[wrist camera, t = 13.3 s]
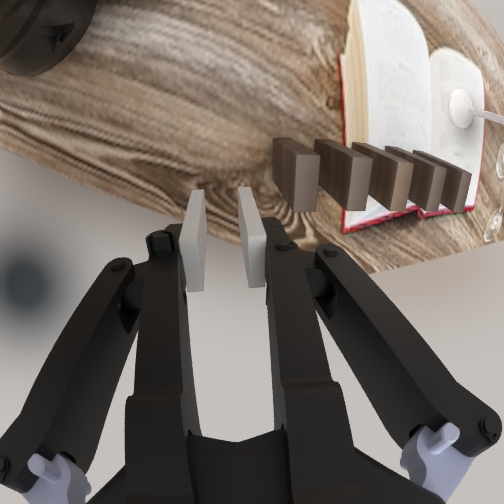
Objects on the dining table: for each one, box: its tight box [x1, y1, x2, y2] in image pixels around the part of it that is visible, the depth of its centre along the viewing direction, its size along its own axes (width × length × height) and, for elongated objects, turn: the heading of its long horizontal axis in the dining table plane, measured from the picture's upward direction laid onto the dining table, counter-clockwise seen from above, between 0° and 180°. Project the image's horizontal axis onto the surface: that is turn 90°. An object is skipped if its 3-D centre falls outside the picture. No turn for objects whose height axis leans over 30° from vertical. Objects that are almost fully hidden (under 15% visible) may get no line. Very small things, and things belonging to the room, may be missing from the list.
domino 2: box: [314, 139, 373, 211], centre depth 26 cm, size 2×5×10 cm, turn 0°
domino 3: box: [352, 142, 414, 211], centre depth 27 cm, size 2×5×10 cm, turn 0°
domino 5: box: [413, 150, 472, 213], centre depth 28 cm, size 2×5×10 cm, turn 0°
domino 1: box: [273, 138, 320, 212], centre depth 26 cm, size 2×5×10 cm, turn 0°
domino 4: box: [385, 146, 447, 212], centre depth 27 cm, size 2×5×10 cm, turn 0°
